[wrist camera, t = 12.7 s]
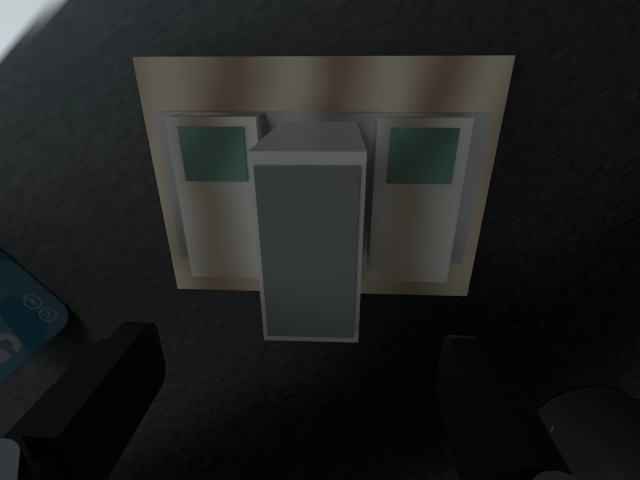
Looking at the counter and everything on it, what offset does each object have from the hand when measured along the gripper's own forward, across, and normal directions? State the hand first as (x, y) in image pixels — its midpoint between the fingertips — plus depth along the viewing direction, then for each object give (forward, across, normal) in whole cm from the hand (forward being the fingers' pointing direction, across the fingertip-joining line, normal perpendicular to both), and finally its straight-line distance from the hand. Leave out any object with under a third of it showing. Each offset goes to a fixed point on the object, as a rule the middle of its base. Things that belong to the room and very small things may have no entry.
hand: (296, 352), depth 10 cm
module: (+15, 0, 0) cm, 15 cm away
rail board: (+16, 0, 0) cm, 16 cm away
